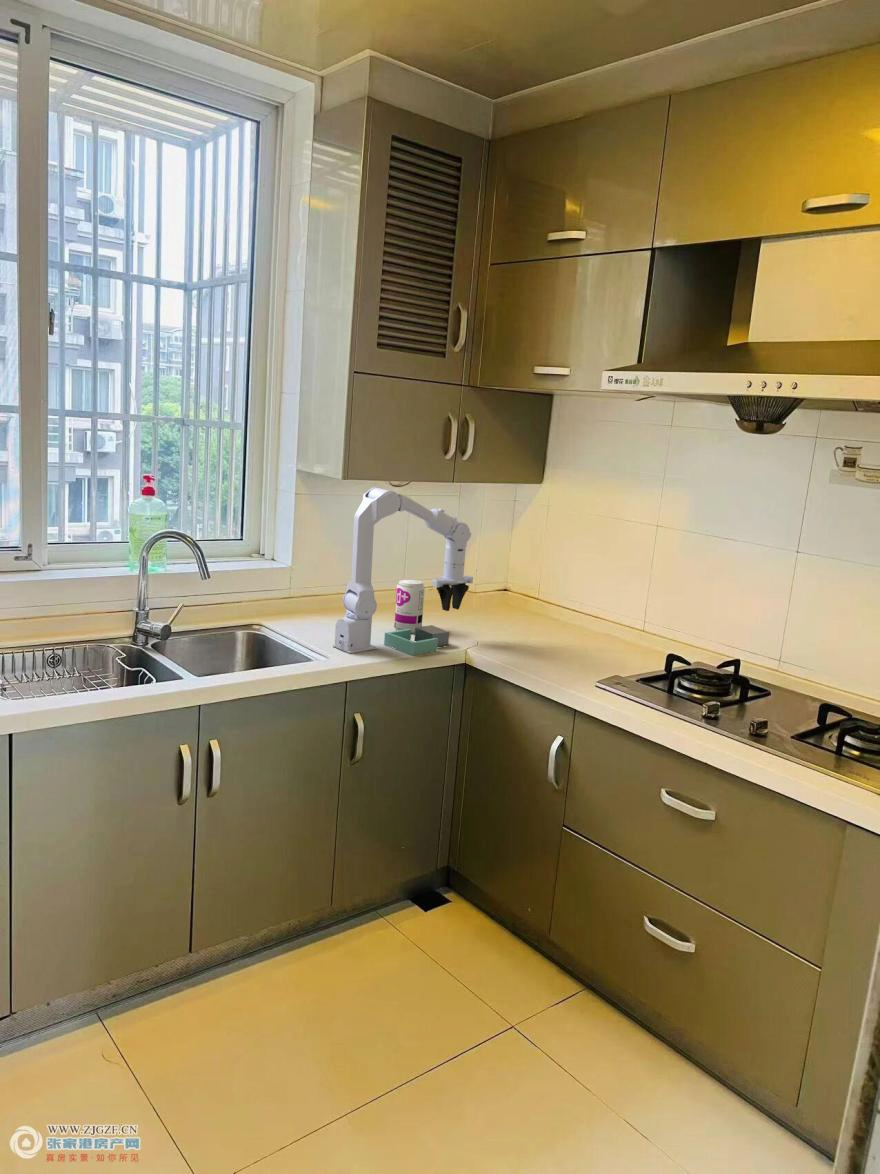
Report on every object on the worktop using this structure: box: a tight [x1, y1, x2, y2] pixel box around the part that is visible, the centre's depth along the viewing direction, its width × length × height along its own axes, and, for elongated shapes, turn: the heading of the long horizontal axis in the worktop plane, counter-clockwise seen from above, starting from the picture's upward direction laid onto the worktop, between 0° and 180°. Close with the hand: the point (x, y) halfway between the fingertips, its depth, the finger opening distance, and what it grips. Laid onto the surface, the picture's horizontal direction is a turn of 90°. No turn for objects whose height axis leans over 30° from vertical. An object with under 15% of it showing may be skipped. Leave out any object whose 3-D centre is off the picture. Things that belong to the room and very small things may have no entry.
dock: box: [383, 629, 438, 656], centre depth 245 cm, size 9×12×4 cm
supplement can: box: [393, 578, 425, 634], centre depth 262 cm, size 8×8×15 cm
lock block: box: [413, 624, 450, 648], centre depth 250 cm, size 6×8×4 cm
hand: (450, 609), depth 253 cm, fingers open, 3 cm apart
